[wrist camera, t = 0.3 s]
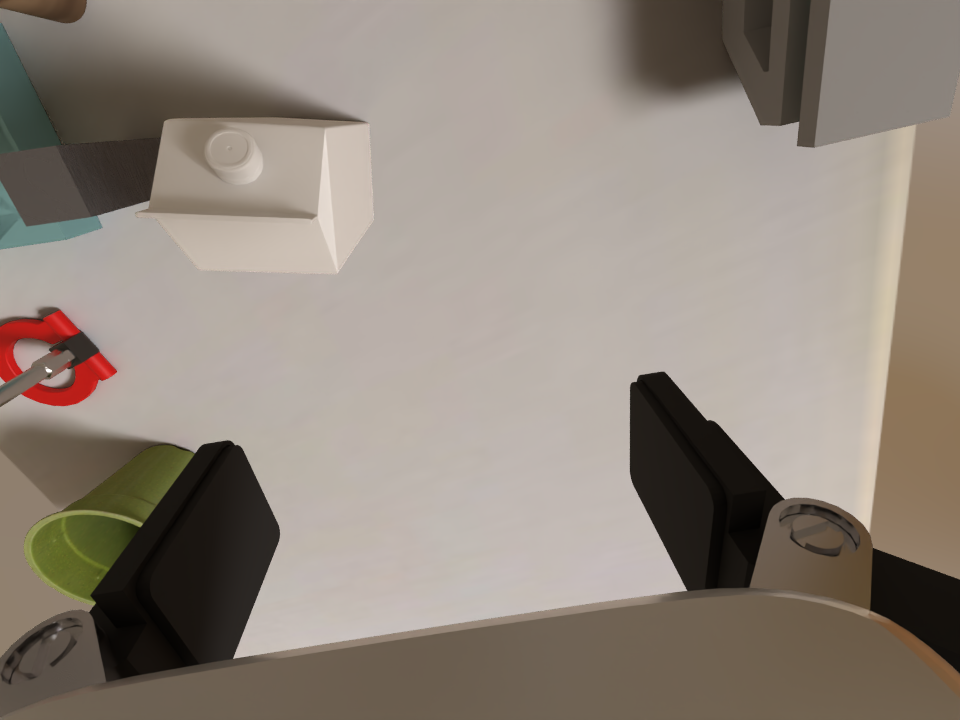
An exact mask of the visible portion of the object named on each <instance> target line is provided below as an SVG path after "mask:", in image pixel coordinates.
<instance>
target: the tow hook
mask: <svg viewBox="0 0 960 720" xmlns="http://www.w3.org/2000/svg"><path fill="white" fill-rule="evenodd" d="M43 320H44V321H40V320H35V319H19V320H15V321H10V322H8V323H6V324H4V325H2V326H1V327H0V377H1V378H2V379H3V380H4V381H5V382H6V383H4V384H3V385H1V386H0V407H1V406H3V405H4V404H6V403H8V402H9V401H11V400H12V399H14V398H15V397H17V396H18V395H20V394H22V395H24V396H25V397H27V398H30V399H32V400H34V401H37V402H39V403H44V404H48V405H52V406H68V405H73V404H77V403H79V402H80V401H82V400H84V399H86V398H87V397H88V396H90V394H91V393H92V392H93V391H94V390H95V389H96V386H97V383H98V380H101V381H103V380H106V379H108V378H109V377H111V376H113V375H114V374H115V373H116V372H117V371H116V369H115V368H114V367H113V366H112V365H111V364H110V363H109V362H108V361H107V360H106V359H105V358H104V357H103V355H102V354H101V353H100V352H99V349H98V348H97V347H96V346H95V345H94V344H93V343H92V342H91V341H90V339H89V338H88V337H87V336H86V335H85V334H84V333H83V332H80V331H79V330H78V329H77V327H76V326H75V325H74V324H73V323H72V322H71V321H70V320H69V319H68V318H67V317H66V316H65V315H64V313H63V312H62V311H61V310H59V311H56V312H54V313H52V314H50V315H48V316H46V317H45V318H43ZM22 338H35V339H39V340H43V341H46V342H48V343H50V344H55V343H57V342H59V341H61V340H63V341H62V342H60V343H59V344H57V345H55V346H53V347H52V348H50V349H49V350H50V352H51V353H49V354H47V355H45V356H43V357H42V358H40V359H38V360H37V361H35V362H33V364H32V366H31V368H30V369H28V370H26V371H25V372H22V371H21V369H20V368H19V367H18V365H17V364H16V361H15V359H14V355H13V348H14V344H15V343H16V342H17V341H18V340H19V339H22ZM73 367H74V369H75V376H76V378H75V381H74V384H73V385H72V386H71V387H69V388H64V389H55V388H50V387H46V386H43V385H41V384H39V382H40V381H42V380H44V379H51V378H53V377H54V376H56V375H57V374H59V373H61V372H62V371H64V370H65V369H66V368H67V369H71V368H73Z"/></svg>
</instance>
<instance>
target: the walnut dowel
mask: <svg viewBox="0 0 960 720" xmlns="http://www.w3.org/2000/svg"><path fill="white" fill-rule="evenodd" d="M86 4H87V0H0V8H3V9H7V10H12V11H16V12H20V13H24V14H28V15H32V16H36V17H40V18H45V19H49V20H53V21H57V22H61V23H72V22H75V21H77V20H79V19H80V18H81V17H82V16H83V14H84V12H85V9H86Z"/></svg>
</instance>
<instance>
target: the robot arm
mask: <svg viewBox="0 0 960 720" xmlns="http://www.w3.org/2000/svg"><path fill="white" fill-rule="evenodd" d="M630 475H631V479H632V483H633V485H634V487H635V489H636V491H637V493H638V495H639V497H640V499H641V501H642V503H643V505H644V507H645V509H646V511H647V513H648V515H649V517H650V519H651V521H652V523H653V525H654V526H655V528H656V530H657V532H658V534H659V536H660V538H661V540H662V542H663V544H664V546H665V548H666V550H667V552H668V554H669V556H670V558H671V560H672V562H673V564H674V566H675V568H676V570H677V572H678V573H679V575H680V577H681V579H682V581H683V583H684V585H685V587H686V589H687V591H683V592H674V593H667V594H659V595H652V596H644V597H636V598H629V599H621V600H614V601H606V602H599V603H592V604H585V605H579V606H572V607H565V608H558V609H552V610H545V611H538V612H532V613H525V614H518V615H511V616H505V617H498V618H491V619H485V620H478V621H471V622H465V623H458V624H452V625H445V626H439V627H432V628H426V629H419V630H413V631H406V632H400V633H393V634H387V635H381V636H374V637H368V638H361V639H355V640H348V641H342V642H336V643H329V644H323V645H317V646H311V647H304V648H298V649H292V650H286V651H279V652H273V653H267V654H261V655H255V656H248V657H242V658H236V659H233V657H234V654H235V652H236V649H237V647H238V644H239V642H240V639H241V637H242V634H243V631H244V629H245V626H246V624H247V621H248V619H249V616H250V614H251V611H252V608H253V606H254V603H255V601H256V598H257V596H258V593H259V591H260V588H261V585H262V583H263V580H264V578H265V575H266V573H267V570H268V568H269V565H270V562H271V560H272V557H273V555H274V552H275V550H276V547H277V545H278V542H279V538H280V529H279V525H278V523H277V521H276V519H275V517H274V515H273V512H272V510H271V508H270V506H269V504H268V502H267V500H266V498H265V495H264V493H263V491H262V489H261V487H260V485H259V483H258V481H257V479H256V476H255V474H254V472H253V470H252V468H251V466H250V464H249V462H248V460H247V457H246V455H245V453H244V451H243V449H242V448H241V447H240V446H239V445H234V443H233V442H231V441H228V440H227V441H221V442H215V443H208V444H204V445H202V446H201V447H200V448H199V449H198V450H197V452H196V453H195V455H194V456H193V457H192V459H191V460H190V461H189V463H188V464H187V465H186V467H185V468H184V469H183V471H182V472H181V473H180V475H179V476H178V477H177V479H176V480H175V481H174V483H173V484H172V486H171V487H170V488H169V490H168V491H167V492H166V494H165V495H164V496H163V498H162V499H161V500H160V502H159V503H158V504H157V506H156V507H155V508H154V510H153V511H152V513H151V514H150V515H149V517H148V518H147V519H146V521H145V522H144V523H143V525H142V526H141V527H140V529H139V530H138V531H137V533H136V534H135V535H134V537H133V538H132V540H131V541H130V542H129V544H128V545H127V546H126V548H125V549H124V550H123V552H122V553H121V554H120V556H119V557H118V558H117V560H116V561H115V562H114V564H113V565H112V567H111V568H110V569H109V571H108V572H107V573H106V575H105V576H104V577H103V579H102V580H101V581H100V583H99V584H98V585H97V587H96V588H95V589H94V591H93V592H92V594H91V595H90V596H91V597H92V599H93V600H94V601H95V602H96V604H95V605H94V607H93V608H92V609H91V611H90V612H87V611H84V610H72V611H67V612H64V613H61V614H58V615H56V616H53V617H51V618H49V619H47V620H46V621H43V622H42V623H40V624H39V625H37V626H35V627H34V628H33V629H31V630H30V631H28V632H27V633H25V634H24V635H23V636H22V637H21V638H19V639H18V640H17V641H16V642H15V643H14V644H13V645H11V647H10V648H9V649H8V650H7V651H6V652H5V653H4V655H2V657H1V658H0V720H960V580H959V579H957V578H954V577H951V576H948V575H946V574H943V573H940V572H937V571H935V570H932V569H929V568H926V567H923V566H921V565H918V564H915V563H913V562H909V561H907V560H904V559H902V558H899V557H896V556H893V555H891V554H888V553H885V552H882V551H880V550H877V549H874V548H873V545H872V541H871V536H870V534H869V532H868V531H867V530H866V528H865V527H864V525H863V524H862V523H861V522H860V521H858V520H857V519H856V518H855V517H854V516H853V515H851V514H850V513H848V512H846V511H844V510H843V509H841V508H839V507H837V506H835V505H832V504H829V503H827V502H824V501H820V500H815V499H810V498H791V499H786V500H785V499H784V498H783V497H782V496H781V495H780V494H779V493H778V491H777V490H776V489H775V488H774V487H773V486H772V485H771V483H770V482H769V481H768V480H767V479H766V478H765V477H764V476H763V474H762V473H761V472H760V471H759V470H758V469H757V468H756V467H755V465H754V464H753V463H752V462H751V461H750V460H749V459H748V458H747V456H746V455H745V454H744V453H743V452H742V451H741V450H740V449H739V447H738V446H737V445H736V444H735V443H734V442H733V441H732V440H731V438H730V437H729V436H728V435H727V434H726V433H725V432H724V430H723V429H722V428H721V427H720V426H719V425H718V424H717V423H716V422H714V421H711V420H709V421H707V420H706V419H705V418H704V417H703V415H702V414H701V413H700V412H699V411H698V410H697V408H696V407H695V406H694V405H693V404H692V403H691V402H690V400H689V399H688V398H687V397H686V396H685V395H684V393H683V392H682V391H681V390H680V389H679V388H678V386H677V385H676V384H675V383H674V382H673V381H672V379H671V378H670V377H669V376H668V375H667V374H666V373H665V372H657V373H650V374H644V375H639V376H638V379H637V382H633V383H631V386H630Z"/></svg>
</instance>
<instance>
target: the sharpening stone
mask: <svg viewBox="0 0 960 720" xmlns="http://www.w3.org/2000/svg"><path fill="white" fill-rule="evenodd" d="M722 40H723V43H724V45H725V47H726V49H727V51H728V54H729V56H730V58H731V60H732V63H733V65H734V67H735V69H736V72H737V74H738V76H739V78H740V80H741V83H742V85H743V87H744V89H745V92H746V94H747V96H748V98H749V100H750V103H751V105H752V107H753V109H754V112H755V114H756V116H757V118H758V120H759V123H760V125H772V126H782V125H786V124H790V123H795V122H799V131H798V141H797V146H802V147H814V148H815V147H819V146H823V145H828V144H832V143H836V142H841V141H845V140H850V139H854V138H858V137H863V136H867V135H871V134H876V133H880V132H885V131H889V130H893V129H898V128H902V127H906V126H911V125H915V124H920V123H924V122H928V121H933V120H937V119H941V118H946V117H949V116H950V112H951V108H952V104H953V99H954V95H955V90H956V86H957V81H958V77H959V73H960V0H723V12H722Z"/></svg>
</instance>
